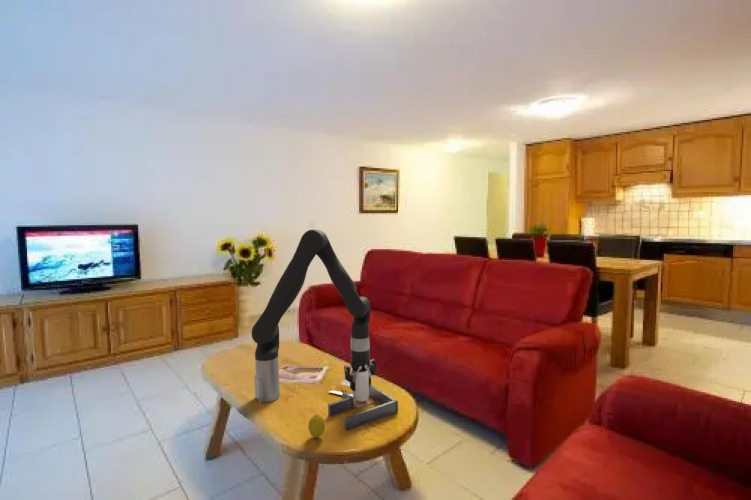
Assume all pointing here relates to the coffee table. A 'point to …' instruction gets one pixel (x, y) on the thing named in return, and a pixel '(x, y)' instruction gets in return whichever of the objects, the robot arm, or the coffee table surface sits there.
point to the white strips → (342, 390)
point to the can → (361, 386)
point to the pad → (363, 403)
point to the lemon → (316, 425)
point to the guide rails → (368, 415)
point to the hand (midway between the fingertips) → (360, 388)
